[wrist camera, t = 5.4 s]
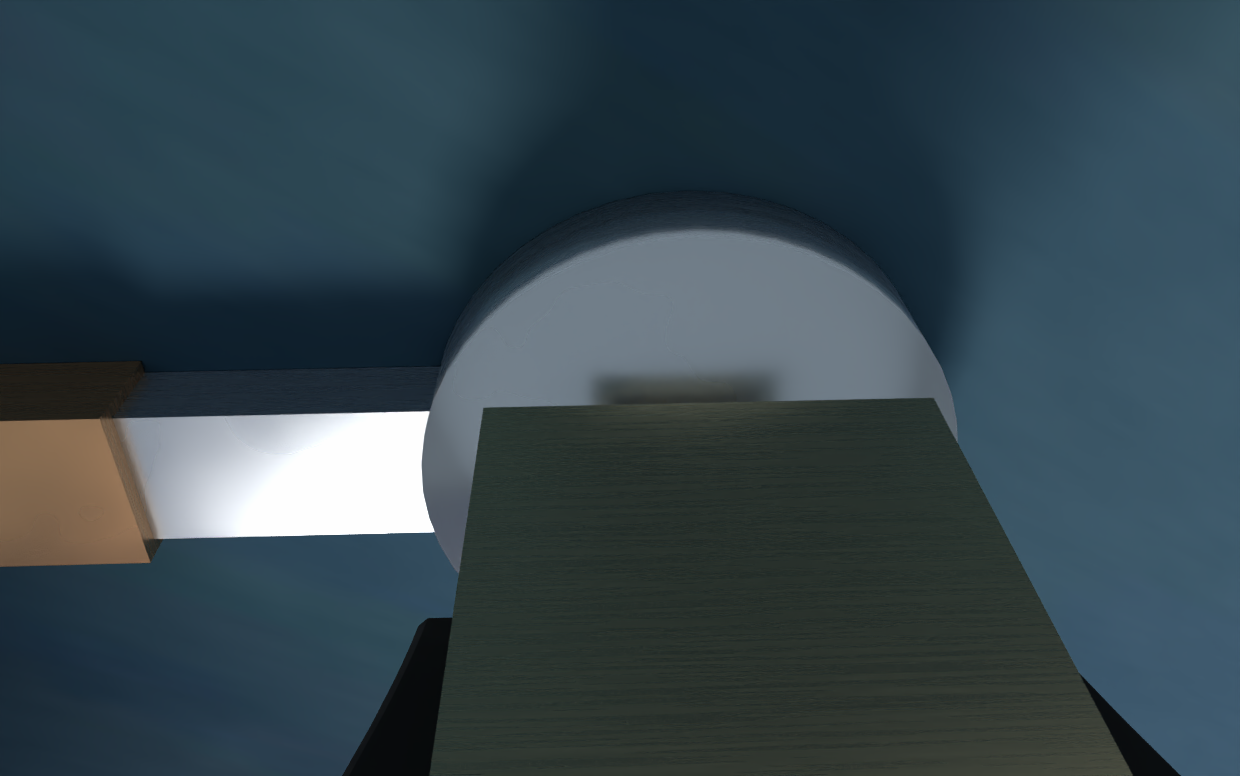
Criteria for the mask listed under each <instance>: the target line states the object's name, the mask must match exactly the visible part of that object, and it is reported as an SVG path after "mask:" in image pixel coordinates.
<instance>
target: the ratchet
mask: <svg viewBox="0 0 1240 776" xmlns="http://www.w3.org/2000/svg"><path fill="white" fill-rule="evenodd" d="M894 398H934V399H935V401H936V403H937V405H938V407H939V409H940V411H941V413H942V415H943V416H944V418H945V420H946V422H947V424H948V426H949V428H950V430H951V432H952V434H953V435H954V437H955V439H956V441H957V420H956V415H955V410H954V405H953V399H952V394H951V392H950V389H949V386H948V384H947V381H946V378H945V376H944V373H943V371H942V368H941V366H940V364H939V362H938V361H937V359H936V357H935V355H934V354H933V352H932V350H931V349H930V347H929V345H928V343H927V342H926V340H925V338H924V337H923V335H922V333H921V331H920V330H919V328H918V326H917V325H916V323H915V321H914V319H913V318H912V316H911V314H910V313H909V311H908V309H907V307H906V306H905V304H904V302H903V301H902V299H901V297H900V295H899V294H898V292H897V290H896V289H895V287H894V285H893V284H892V283H891V281H890V280H889V279H888V278H887V277H886V275H885V274H884V273H883V272H882V271H881V269H880V268H879V267H878V266H877V264H876V263H875V262H874V261H873V260H872V259H871V258H870V257H868V256H867V255H866V254H865V253H864V252H863V251H862V250H861V249H859V248H858V247H857V246H856V245H855V244H854V243H853V242H852V241H850V240H849V239H847V238H846V237H844V236H843V235H841V234H840V233H838V232H836V231H835V230H833V229H832V228H830V227H829V226H827V225H826V224H824V223H822V222H820V221H818V220H816V219H814V218H812V217H810V216H807V215H805V214H803V213H801V212H799V211H797V210H795V209H792V208H789V207H786V206H782V205H779V204H776V203H773V202H770V201H766V200H763V199H760V198H754V197H749V196H743V195H737V194H731V193H725V192H706V191H678V192H666V193H653V194H647V195H643V196H638V197H633V198H628V199H623V200H618V201H614V202H611V203H608V204H605V205H602V206H600V207H597V208H594V209H591V210H588V211H585V212H582V213H580V214H578V215H576V216H573V217H571V218H569V219H567V220H565V221H563V222H561V223H559V224H557V225H555V226H553V227H551V228H549V229H547V230H546V231H544V232H543V233H541V234H540V235H538V236H537V237H535V238H534V239H532V240H531V241H529V242H528V243H526V244H525V245H523V246H522V247H520V248H519V249H518V250H517V251H516V252H514V253H513V254H512V255H511V256H510V257H509V258H508V259H506V260H505V261H504V262H503V263H502V264H501V265H500V266H498V267H497V268H496V269H495V270H494V271H493V272H492V274H491V275H490V276H489V277H488V278H487V279H486V280H485V282H484V283H483V284H482V285H481V286H480V287H479V288H478V290H477V291H476V292H475V293H474V295H473V296H472V298H471V299H470V301H469V302H468V304H467V306H466V307H465V309H464V310H463V312H462V313H461V315H460V316H459V318H458V320H457V322H456V324H455V326H454V329H453V331H452V333H451V335H450V338H449V340H448V342H447V344H446V347H445V351H444V354H443V358H442V361H441V365H440V366H428V367H382V368H336V369H290V370H244V371H198V372H152V373H145V372H144V368H143V365H142V362H141V361H124V362H78V363H31V364H0V567H5V566H43V565H81V564H119V563H150V562H151V561H152V559H153V557H154V555H155V553H156V551H157V549H158V547H159V546H160V544H161V542H162V540H163V539H174V538H213V537H251V536H290V535H329V534H368V533H407V532H435V535H436V537H437V539H438V542H439V544H440V546H441V547H442V549H443V551H444V552H445V554H446V556H447V557H448V559H449V561H450V562H451V564H452V566H453V567H454V569H455V570H456V571H457V572H458V574H459V570H460V563H461V557H462V550H463V543H464V536H465V529H466V523H467V516H468V509H469V502H470V495H471V488H472V482H473V475H474V468H475V461H476V454H477V448H478V441H479V434H480V427H481V420H482V413H483V408H485V407H531V406H576V405H622V404H667V403H712V402H758V401H803V400H849V399H894Z"/></svg>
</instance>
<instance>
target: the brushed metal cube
mask: <svg viewBox="0 0 1240 776" xmlns="http://www.w3.org/2000/svg"><path fill="white" fill-rule="evenodd" d="M429 776H1133V775H1132V773H1131V771H1130V769H1129V767H1128V765H1127V763H1126V761H1125V760H1124V758H1123V756H1122V754H1121V752H1120V750H1119V748H1118V746H1117V744H1116V743H1115V741H1114V739H1113V737H1112V735H1111V733H1110V731H1109V729H1108V727H1107V725H1106V724H1105V722H1104V720H1103V718H1102V716H1101V714H1100V712H1099V710H1098V708H1097V707H1096V705H1095V703H1094V701H1093V699H1092V697H1091V695H1090V693H1089V691H1088V689H1087V688H1086V686H1085V684H1084V682H1083V680H1082V678H1081V676H1080V674H1079V672H1078V670H1077V669H1076V667H1075V665H1074V663H1073V661H1072V659H1071V657H1070V655H1069V653H1068V652H1067V650H1066V648H1065V646H1064V644H1063V642H1062V640H1061V638H1060V636H1059V634H1058V633H1057V631H1056V629H1055V627H1054V625H1053V623H1052V621H1051V619H1050V617H1049V616H1048V614H1047V612H1046V610H1045V608H1044V606H1043V604H1042V602H1041V600H1040V598H1039V597H1038V595H1037V593H1036V591H1035V589H1034V587H1033V585H1032V583H1031V581H1030V580H1029V578H1028V576H1027V574H1026V572H1025V570H1024V568H1023V566H1022V564H1021V562H1020V561H1019V559H1018V557H1017V555H1016V553H1015V551H1014V549H1013V547H1012V545H1011V543H1010V542H1009V540H1008V538H1007V536H1006V534H1005V532H1004V530H1003V528H1002V526H1001V525H1000V523H999V521H998V519H997V517H996V515H995V513H994V511H993V509H992V507H991V506H990V504H989V502H988V500H987V498H986V496H985V494H984V492H983V490H982V489H981V487H980V485H979V483H978V481H977V479H976V477H975V475H974V473H973V471H972V470H971V468H970V466H969V464H968V462H967V460H966V458H965V456H964V454H963V452H962V451H961V449H960V447H959V445H958V443H957V441H956V439H955V437H954V435H953V434H952V432H951V430H950V428H949V426H948V424H947V422H946V420H945V418H944V416H943V415H942V413H941V411H940V409H939V407H938V405H937V403H936V401H935V399H934V398H894V399H849V400H803V401H758V402H712V403H667V404H622V405H576V406H531V407H485V408H483V413H482V420H481V427H480V434H479V441H478V448H477V454H476V461H475V468H474V475H473V482H472V488H471V495H470V502H469V509H468V516H467V523H466V529H465V536H464V543H463V550H462V557H461V563H460V570H459V577H458V584H457V591H456V598H455V604H454V611H453V618H452V625H451V632H450V639H449V645H448V652H447V659H446V666H445V673H444V679H443V686H442V693H441V700H440V707H439V714H438V720H437V727H436V734H435V741H434V748H433V754H432V761H431V768H430V775H429Z"/></svg>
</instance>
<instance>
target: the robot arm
mask: <svg viewBox="0 0 1240 776" xmlns="http://www.w3.org/2000/svg"><path fill="white" fill-rule="evenodd" d="M451 625H452V618H428V619H426V620H425V621H424V622H423V623H422V624H420V625H419V626H418V629H417V631H416V633H415V636H414V638H413V641H412V643H411V645H410V648H409V650H408V652H407V654H406V657H405V659H404V661H403V663H402V665H401V667H400V669H399V672H398V674H397V676H396V678H395V680H394V682H393V684H392V686H391V688H390V690H389V692H388V694H387V696H386V698H385V700H384V702H383V703H382V705H381V707H380V709H379V711H378V713H377V715H376V717H375V719H374V721H373V722H372V724H371V726H370V728H369V730H368V732H367V733H366V735H365V737H364V739H363V740H362V742H361V744H360V746H359V747H358V749H357V751H356V753H355V754H354V756H353V758H352V760H351V761H350V763H349V765H348V767H347V768H346V770H345V772H344V774H343V775H342V776H429V775H430V768H431V761H432V754H433V748H434V741H435V734H436V727H437V720H438V714H439V707H440V700H441V693H442V686H443V679H444V673H445V666H446V659H447V652H448V645H449V639H450V632H451ZM1079 674H1080V673H1079ZM1080 676H1081V674H1080ZM1081 678H1082V680H1083V682H1084V684H1085V686H1086V688H1087V689H1088V691H1089V693H1090V695H1091V697H1092V699H1093V701H1094V703H1095V705H1096V707H1097V708H1098V710H1099V712H1100V714H1101V716H1102V718H1103V720H1104V722H1105V724H1106V725H1107V727H1108V729H1109V731H1110V733H1111V735H1112V737H1113V739H1114V741H1115V743H1116V744H1117V746H1118V748H1119V750H1120V752H1121V754H1122V756H1123V758H1124V760H1125V761H1126V763H1127V765H1128V767H1129V769H1130V771H1131V773H1132V775H1133V776H1181V775H1179V774H1178V773H1177V772H1176V771H1175V770H1174V769H1173V768H1172V767H1171V766H1170V765H1169V764H1168V763H1167V762H1166V761H1165V760H1164V759H1163V758H1162V757H1161V756H1160V755H1159V754H1158V753H1157V752H1156V751H1155V750H1154V749H1153V748H1152V747H1151V746H1150V745H1149V744H1148V743H1147V742H1146V741H1145V740H1144V739H1143V738H1142V737H1141V736H1140V735H1139V734H1138V733H1137V732H1136V731H1135V730H1134V729H1133V728H1132V727H1131V726H1130V725H1129V724H1128V723H1127V722H1126V721H1125V720H1124V719H1123V718H1122V717H1121V716H1120V715H1119V714H1118V713H1117V712H1116V711H1115V710H1114V709H1113V708H1112V707H1111V706H1110V705H1109V704H1108V703H1107V702H1106V701H1105V699H1104V698H1103V697H1102V696H1101V695H1100V694H1099V693H1098V692H1097V691H1096V690H1095V689H1094V688H1093V687H1092V686H1091V685H1090V684H1089V683H1088V682H1087V681H1086V680H1085V679H1084V678H1083V677H1082V676H1081Z"/></svg>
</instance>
